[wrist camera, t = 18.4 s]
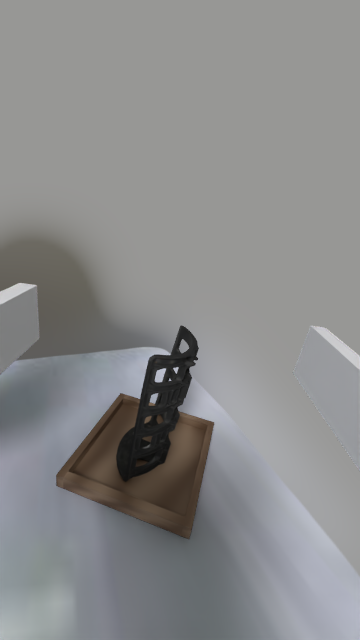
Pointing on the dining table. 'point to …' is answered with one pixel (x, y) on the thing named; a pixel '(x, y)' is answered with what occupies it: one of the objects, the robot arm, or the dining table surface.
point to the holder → (157, 409)
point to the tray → (148, 489)
